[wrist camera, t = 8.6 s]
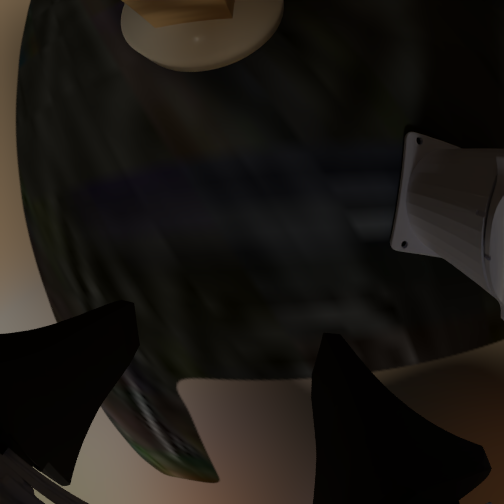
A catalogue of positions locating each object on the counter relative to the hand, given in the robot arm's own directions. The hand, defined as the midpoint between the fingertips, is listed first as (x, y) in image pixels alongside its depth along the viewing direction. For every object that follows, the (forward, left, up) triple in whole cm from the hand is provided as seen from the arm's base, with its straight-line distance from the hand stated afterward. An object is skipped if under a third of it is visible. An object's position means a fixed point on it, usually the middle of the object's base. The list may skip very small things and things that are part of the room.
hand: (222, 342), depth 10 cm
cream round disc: (+5, -18, -10) cm, 21 cm away
